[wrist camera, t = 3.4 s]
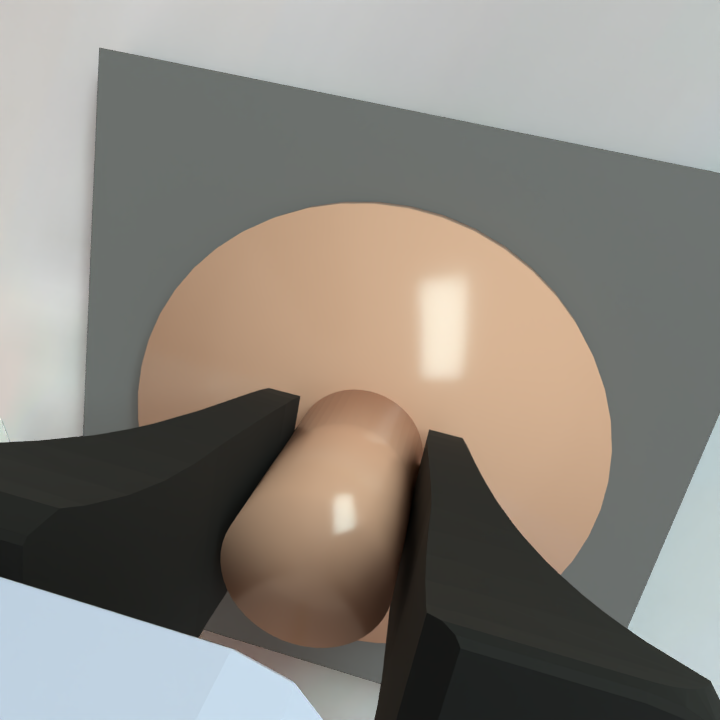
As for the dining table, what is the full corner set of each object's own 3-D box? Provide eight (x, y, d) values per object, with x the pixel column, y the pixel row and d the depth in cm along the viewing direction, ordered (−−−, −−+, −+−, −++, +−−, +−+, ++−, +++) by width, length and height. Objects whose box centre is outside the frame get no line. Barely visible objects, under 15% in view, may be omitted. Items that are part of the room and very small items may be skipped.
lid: (531, 672, 14) (547, 895, 10) (140, 559, 15) (7, 719, 11) (678, 261, 11) (792, 338, 7) (168, 156, 12) (-5, 166, 8)
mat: (572, 713, 15) (577, 744, 14) (95, 569, 16) (76, 590, 16) (792, 188, 11) (814, 192, 10) (123, 53, 12) (98, 47, 11)
